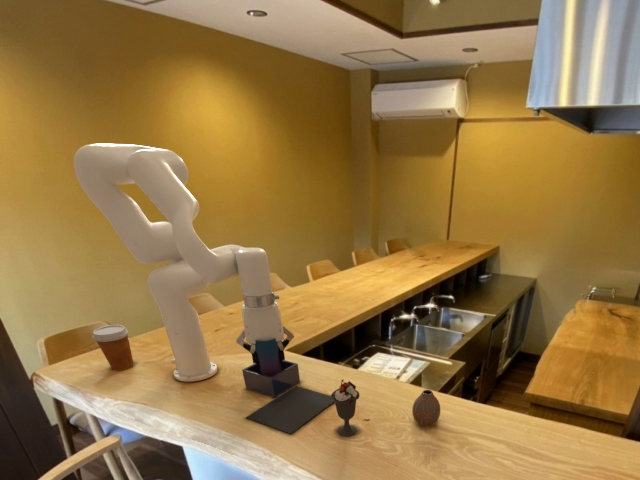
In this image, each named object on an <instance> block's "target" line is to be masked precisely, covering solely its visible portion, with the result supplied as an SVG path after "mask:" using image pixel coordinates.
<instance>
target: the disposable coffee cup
mask: <svg viewBox="0 0 640 480" xmlns="http://www.w3.org/2000/svg"><path fill="white" fill-rule="evenodd" d="M92 334H93V335H92V338H93V339H94V340H95V341H96V343H97V345H98V347H99V348H100V350H101V352H102V354H103V356H104V357H105V359H106V360H107V363H108V365H109V366H110V368H111V370H115V371H122V370H126V369H130V368H131V367H133V366H134V364H135V363H134V358H133V354H132V349H131V345H130V340H129V330H128V329H127V328H126V327H125V326H124V325H122V324H110V325H105V326H101V327H98V328H96V329H94V330H93V331H92Z"/></svg>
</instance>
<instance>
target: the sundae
mask: <svg viewBox="0 0 640 480" xmlns="http://www.w3.org/2000/svg"><path fill="white" fill-rule="evenodd" d="M330 396H331V398H332V399H333V400H334V401H335V402H334V404H335V409H336V413H337V416H338V418H340V419H342V420H343V422H344V424H343V425H341V426H339V427H338V428H337V430H336V432H337V434H338V435H339V436H340V437H344V438H345V437H346V438H347V437H352V436H355V435H356V434H357V433H358V428H357V427H356V426H354V425H352V424H350V420H351V419H353V417H354V416H355V413H356V406H357V400H359V398H360V392H359V391H358V390H357V386H356V385H355V384H354V383H353V382H351V381H350V380H348V382H346V381H345V382H344V379H341V382H340V385H339V387H338V388H337V389H335V390H334V391H333V392H332V393H331V394H330Z"/></svg>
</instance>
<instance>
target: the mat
mask: <svg viewBox="0 0 640 480" xmlns="http://www.w3.org/2000/svg"><path fill="white" fill-rule="evenodd" d="M333 404H335V401H334V400H333V399H332V398H331V395H329V394H325V393H322V392H319V391H316V390H312V389H308V388H305V387H302V386H298V385H295V386H293V387H291V388H290V389H288V390H287V391H285V392H283V393H282V394H280V395H279V396H277V397H275V398H274V399H273V400H271V401H269V402H268V403H266V404H265V405H263V406H262V407H260V408H258V409H256V410H255V411H254V412H252V413H249V415H247V416H246V417H245V419H246V420H248V421H251V422H254V423H257V424H260V425H263V426H265V427H268V428H271V429H274V430H277V431H279V432H282V433H285V434H288V435H293V434H294V433H296V432H298V431H299V430H300V429H301V428H303V427H304V426H305V425H306V424H308V423H309V422H310V421H312V420H313V419H314V418H316V417H317V416H318V415H320V414H321V413H323V412H324V411H325V410H327V409H328V408H330V406H332V405H333Z"/></svg>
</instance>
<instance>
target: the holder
mask: <svg viewBox="0 0 640 480" xmlns="http://www.w3.org/2000/svg"><path fill="white" fill-rule="evenodd" d="M298 364H299V363H298V362H297V363H296V362H293V361H289V360H286V359H285V360H283V364H281V363H280V366H281V372H279V373H278V374H276V375H274V376H272V377H270V376H266V375H263V374H261V370H260V366H258V367H256V363H253V364H251V365H249V366H247V367H245V368H244V369H242V370H241V371H242V376H243V380H244V381H243V382H244V385H245V389H246V390H249V391H251V392H255V393H258V394H262V395H265V396H268V397H270V398H274V399H276V398H278V397H279V396H281V395H282V394H284V393H286V392H287V391H289V390H290V389H292V388H294V387H295V386H297V385H298V384H299V383H301V378H300V371H299V370H300V369H299V365H298Z"/></svg>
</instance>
